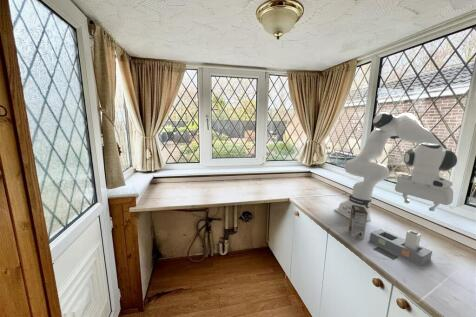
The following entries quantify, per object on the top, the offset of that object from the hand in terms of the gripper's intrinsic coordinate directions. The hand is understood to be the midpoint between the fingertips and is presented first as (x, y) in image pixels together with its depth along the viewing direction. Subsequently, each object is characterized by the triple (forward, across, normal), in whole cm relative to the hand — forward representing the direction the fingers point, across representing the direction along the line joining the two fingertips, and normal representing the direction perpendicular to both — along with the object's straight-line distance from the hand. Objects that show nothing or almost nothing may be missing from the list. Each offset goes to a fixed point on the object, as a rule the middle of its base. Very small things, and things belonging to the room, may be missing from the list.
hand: (418, 206), depth 94 cm
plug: (+22, +1, -3) cm, 22 cm away
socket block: (+24, -4, -3) cm, 25 cm away
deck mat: (+24, -5, -12) cm, 28 cm away
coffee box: (+25, -22, -9) cm, 34 cm away
